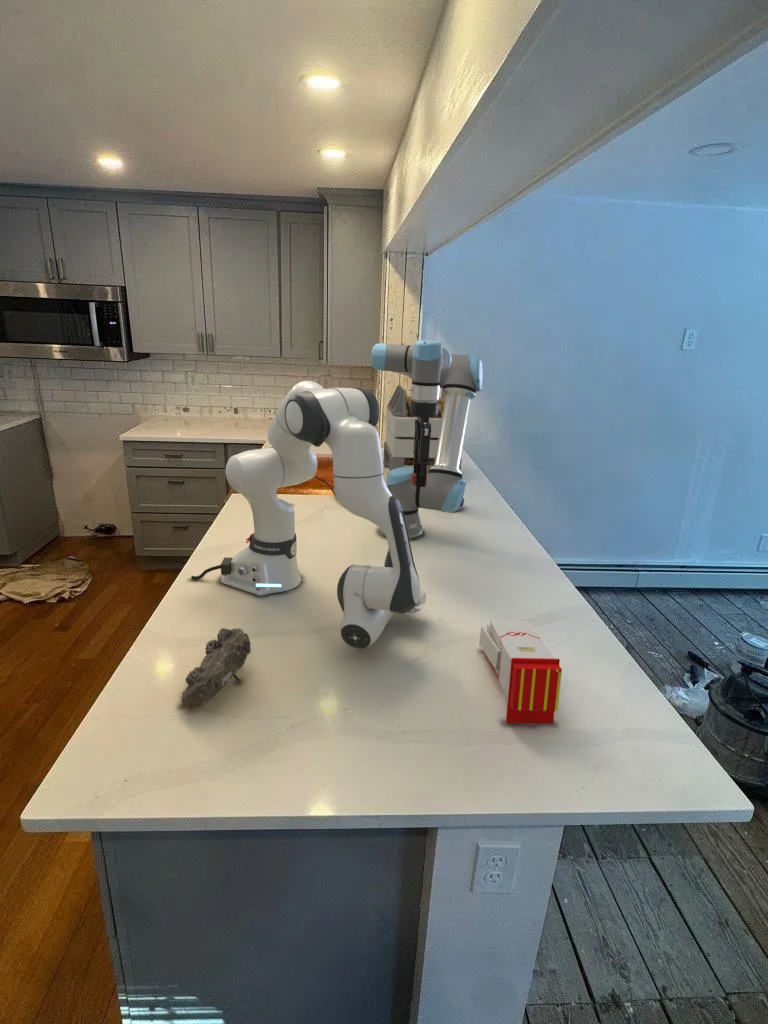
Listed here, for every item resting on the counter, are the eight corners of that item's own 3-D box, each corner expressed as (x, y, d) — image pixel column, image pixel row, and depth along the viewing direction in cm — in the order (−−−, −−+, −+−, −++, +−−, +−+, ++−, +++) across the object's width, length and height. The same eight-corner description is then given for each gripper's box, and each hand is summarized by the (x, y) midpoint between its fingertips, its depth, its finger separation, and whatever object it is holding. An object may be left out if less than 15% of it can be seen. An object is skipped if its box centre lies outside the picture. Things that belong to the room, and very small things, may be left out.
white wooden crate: (382, 463, 289) (386, 382, 275) (445, 464, 293) (451, 384, 279) (390, 482, 257) (394, 392, 243) (460, 483, 261) (468, 394, 247)
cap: (413, 480, 163) (414, 471, 162) (429, 482, 161) (429, 474, 160) (408, 484, 159) (408, 475, 158) (424, 486, 157) (424, 478, 156)
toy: (526, 605, 135) (570, 665, 105) (521, 658, 137) (563, 730, 108) (475, 604, 134) (506, 664, 105) (472, 657, 137) (500, 729, 108)
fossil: (203, 630, 128) (250, 600, 123) (232, 659, 131) (279, 630, 126) (159, 702, 109) (213, 669, 104) (194, 733, 111) (249, 703, 106)
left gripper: (419, 601, 135) (432, 576, 147) (339, 585, 140) (358, 563, 153) (418, 624, 137) (431, 598, 149) (339, 608, 142) (358, 584, 155)
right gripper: (406, 395, 160) (402, 474, 168) (415, 405, 144) (409, 493, 152) (432, 396, 161) (427, 475, 169) (444, 406, 144) (437, 493, 152)
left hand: (394, 580), depth 151 cm, fingers closed on bottle, 5 cm apart
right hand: (418, 483), depth 160 cm, fingers closed on cap, 5 cm apart
